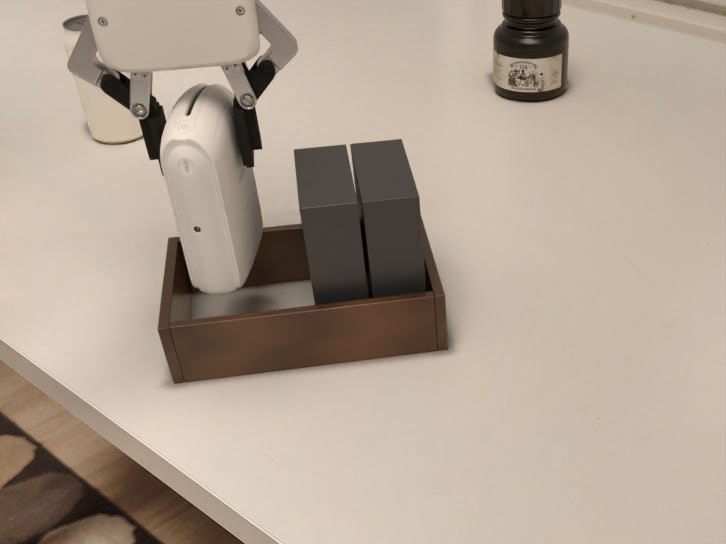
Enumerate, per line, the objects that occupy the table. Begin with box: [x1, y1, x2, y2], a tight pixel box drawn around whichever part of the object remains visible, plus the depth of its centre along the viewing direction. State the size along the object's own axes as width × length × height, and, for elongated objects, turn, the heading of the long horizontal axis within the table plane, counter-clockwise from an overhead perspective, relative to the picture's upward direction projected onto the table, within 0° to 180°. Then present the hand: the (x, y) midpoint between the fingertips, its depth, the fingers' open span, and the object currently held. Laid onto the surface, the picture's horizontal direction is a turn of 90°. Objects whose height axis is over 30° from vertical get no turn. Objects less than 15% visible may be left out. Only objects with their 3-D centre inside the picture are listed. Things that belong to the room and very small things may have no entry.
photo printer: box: [160, 82, 264, 295], centre depth 67 cm, size 10×4×12 cm, turn 0°
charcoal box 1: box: [293, 144, 370, 305], centre depth 72 cm, size 4×10×12 cm, turn 11°
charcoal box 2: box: [349, 138, 426, 299], centre depth 73 cm, size 4×10×12 cm, turn 11°
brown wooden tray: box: [156, 216, 449, 385], centre depth 75 cm, size 21×14×6 cm, turn 101°
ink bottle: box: [492, 0, 570, 101], centre depth 110 cm, size 10×9×12 cm
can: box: [61, 13, 143, 145], centre depth 103 cm, size 6×6×12 cm
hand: (208, 161), depth 66 cm, fingers closed on photo printer, 4 cm apart
